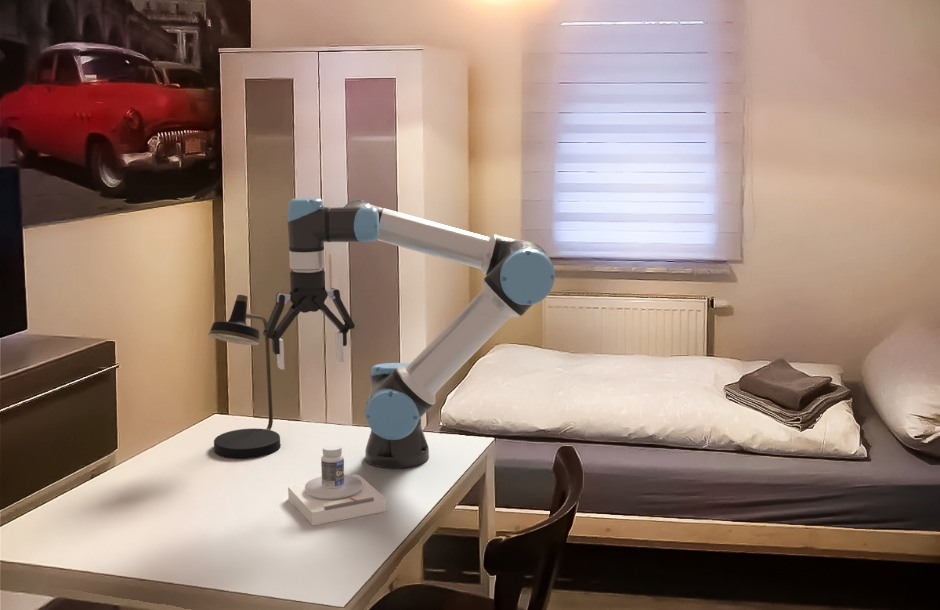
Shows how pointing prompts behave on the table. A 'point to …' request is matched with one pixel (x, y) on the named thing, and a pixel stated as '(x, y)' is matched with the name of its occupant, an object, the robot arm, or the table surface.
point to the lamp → (266, 440)
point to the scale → (336, 500)
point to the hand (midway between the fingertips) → (310, 364)
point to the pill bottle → (332, 466)
